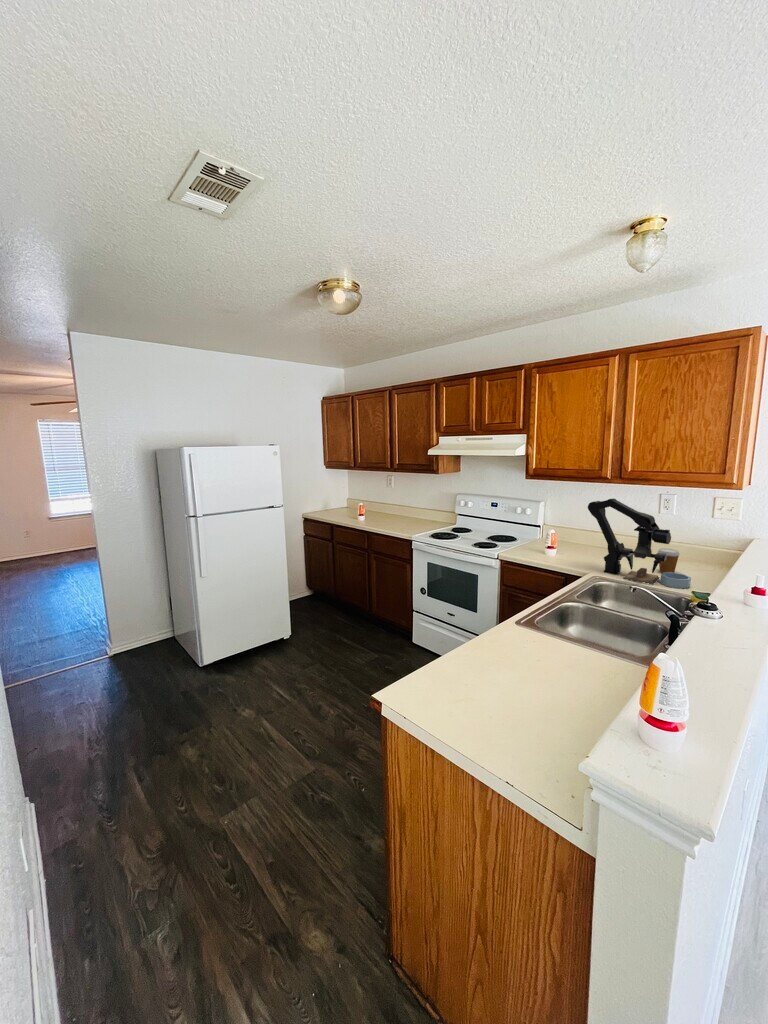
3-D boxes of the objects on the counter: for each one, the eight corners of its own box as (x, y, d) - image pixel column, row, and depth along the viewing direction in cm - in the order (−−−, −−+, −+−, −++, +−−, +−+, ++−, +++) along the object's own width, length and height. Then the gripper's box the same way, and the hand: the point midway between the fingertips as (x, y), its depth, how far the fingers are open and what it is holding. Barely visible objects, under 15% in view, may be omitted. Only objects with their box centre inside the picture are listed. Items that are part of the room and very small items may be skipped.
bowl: (658, 585, 199) (659, 576, 198) (664, 579, 206) (665, 571, 205) (686, 590, 191) (687, 581, 190) (691, 585, 198) (692, 575, 197)
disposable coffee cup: (681, 576, 212) (683, 553, 210) (660, 575, 214) (662, 552, 212) (672, 570, 221) (674, 548, 219) (652, 569, 223) (654, 547, 221)
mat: (623, 578, 208) (623, 577, 208) (630, 573, 217) (630, 572, 217) (653, 584, 199) (653, 583, 199) (659, 578, 208) (659, 577, 208)
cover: (624, 577, 208) (625, 570, 207) (631, 572, 216) (631, 565, 216) (652, 582, 199) (653, 574, 199) (658, 577, 208) (658, 569, 207)
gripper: (618, 540, 206) (616, 571, 208) (663, 546, 193) (660, 579, 195) (625, 537, 214) (622, 566, 216) (668, 542, 201) (665, 573, 203)
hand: (641, 571), depth 207 cm, fingers open, 9 cm apart
